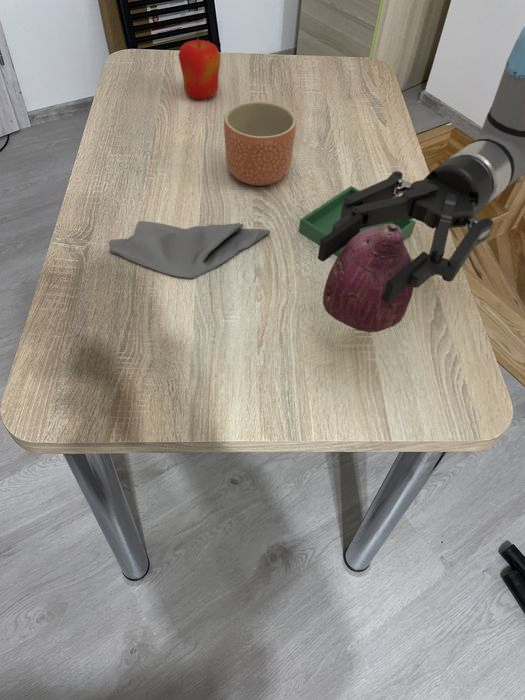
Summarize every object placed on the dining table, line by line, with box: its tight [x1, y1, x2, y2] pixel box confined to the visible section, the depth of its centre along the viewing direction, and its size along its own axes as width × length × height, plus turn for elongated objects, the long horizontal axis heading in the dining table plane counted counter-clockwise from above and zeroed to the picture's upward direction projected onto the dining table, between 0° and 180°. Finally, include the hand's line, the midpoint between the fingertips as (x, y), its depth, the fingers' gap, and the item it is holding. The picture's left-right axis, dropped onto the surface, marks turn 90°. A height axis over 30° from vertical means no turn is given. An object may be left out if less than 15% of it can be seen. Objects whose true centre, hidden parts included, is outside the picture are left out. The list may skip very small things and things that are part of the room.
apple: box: [178, 37, 221, 100], centre depth 113 cm, size 9×8×12 cm
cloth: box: [108, 220, 271, 279], centre depth 86 cm, size 26×14×2 cm, turn 90°
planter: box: [223, 100, 297, 187], centre depth 96 cm, size 12×12×11 cm
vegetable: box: [322, 224, 415, 334], centre depth 59 cm, size 10×10×15 cm
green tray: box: [298, 185, 417, 257], centre depth 90 cm, size 14×14×3 cm
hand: (353, 271), depth 56 cm, fingers closed on vegetable, 8 cm apart
